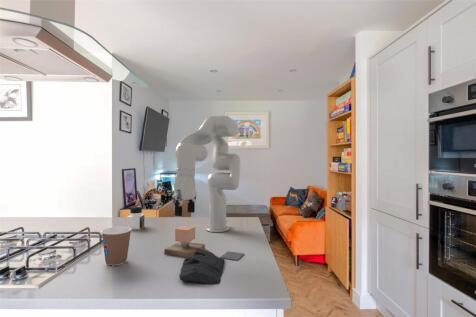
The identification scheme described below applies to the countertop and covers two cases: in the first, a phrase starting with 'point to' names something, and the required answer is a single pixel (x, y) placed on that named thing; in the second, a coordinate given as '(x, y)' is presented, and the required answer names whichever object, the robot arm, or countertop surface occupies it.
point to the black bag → (202, 268)
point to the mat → (232, 255)
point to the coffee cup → (116, 244)
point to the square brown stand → (183, 249)
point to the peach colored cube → (185, 234)
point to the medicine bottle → (135, 218)
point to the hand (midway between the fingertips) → (184, 214)
